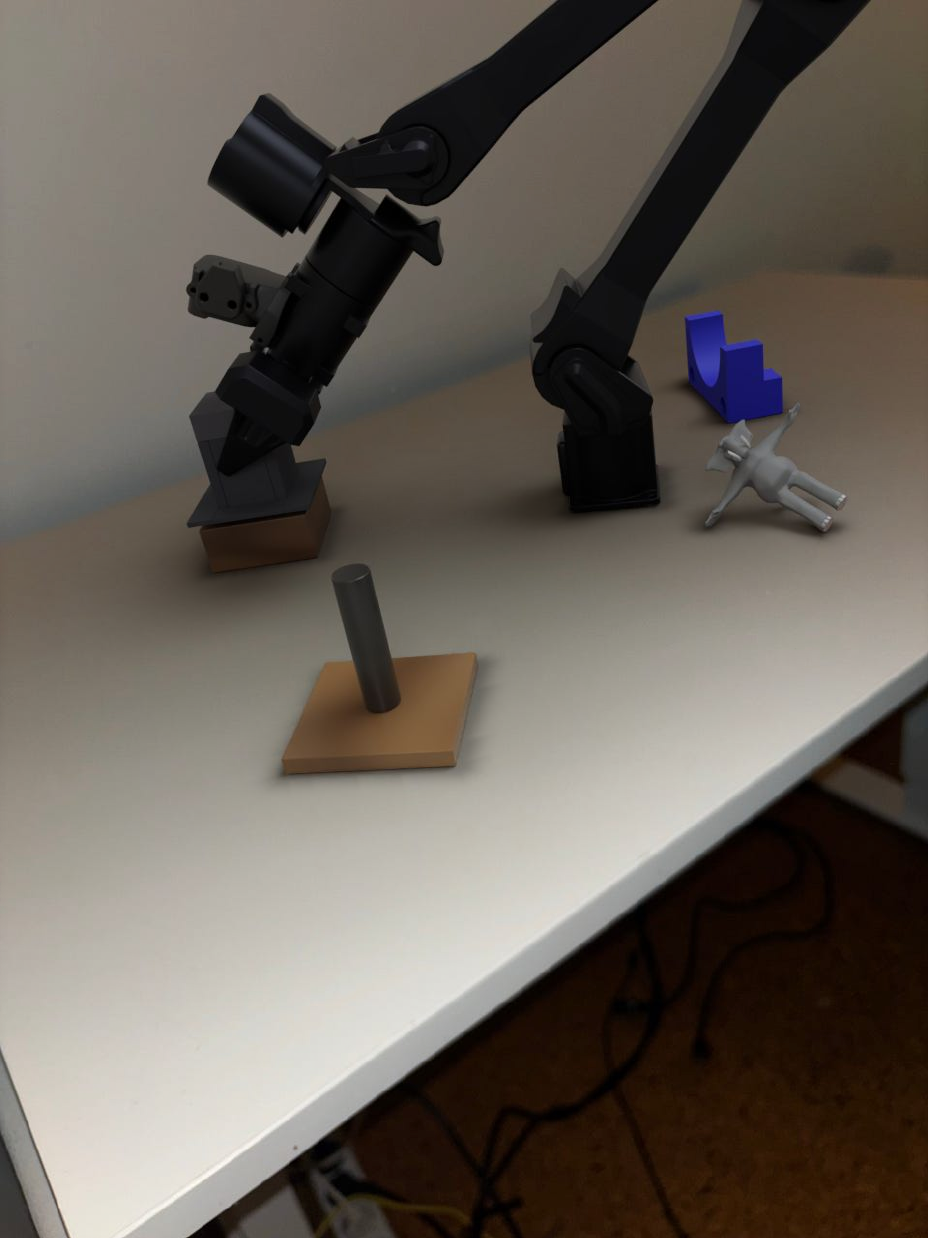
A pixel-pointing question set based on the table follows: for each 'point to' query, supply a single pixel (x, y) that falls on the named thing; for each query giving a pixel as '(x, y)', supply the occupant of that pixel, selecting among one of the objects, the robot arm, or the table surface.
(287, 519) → the hat block
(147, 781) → the table surface
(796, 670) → the table surface
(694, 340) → the blue cradle bracket
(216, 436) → the hat
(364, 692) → the hat stand
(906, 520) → the table surface
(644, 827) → the table surface
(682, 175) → the robot arm
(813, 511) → the elephant figurine
